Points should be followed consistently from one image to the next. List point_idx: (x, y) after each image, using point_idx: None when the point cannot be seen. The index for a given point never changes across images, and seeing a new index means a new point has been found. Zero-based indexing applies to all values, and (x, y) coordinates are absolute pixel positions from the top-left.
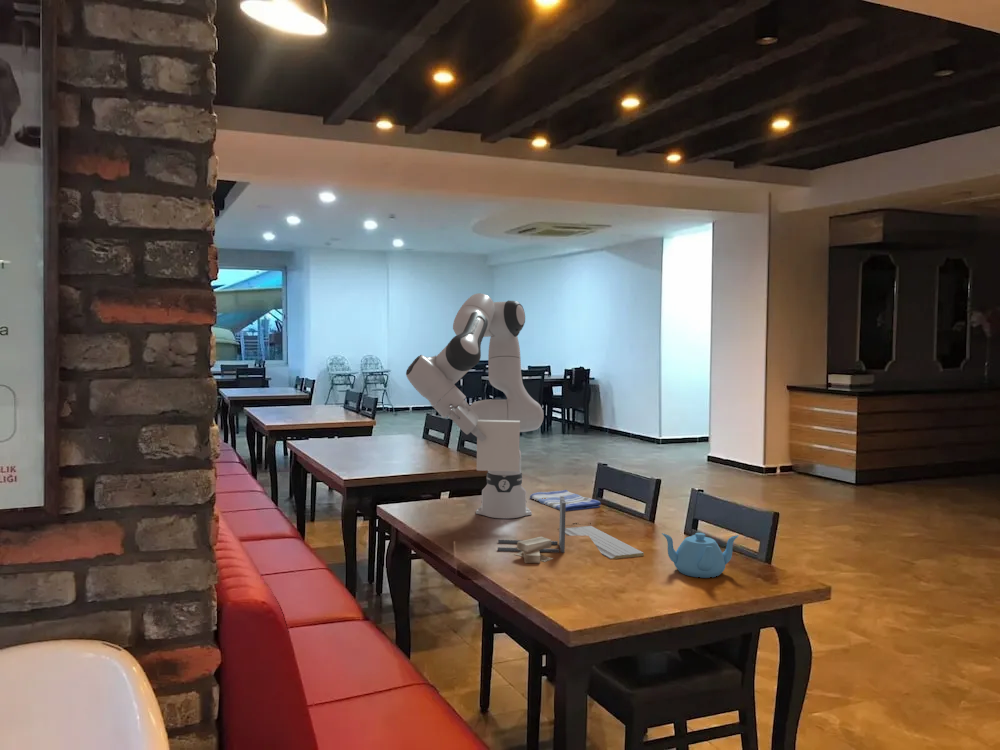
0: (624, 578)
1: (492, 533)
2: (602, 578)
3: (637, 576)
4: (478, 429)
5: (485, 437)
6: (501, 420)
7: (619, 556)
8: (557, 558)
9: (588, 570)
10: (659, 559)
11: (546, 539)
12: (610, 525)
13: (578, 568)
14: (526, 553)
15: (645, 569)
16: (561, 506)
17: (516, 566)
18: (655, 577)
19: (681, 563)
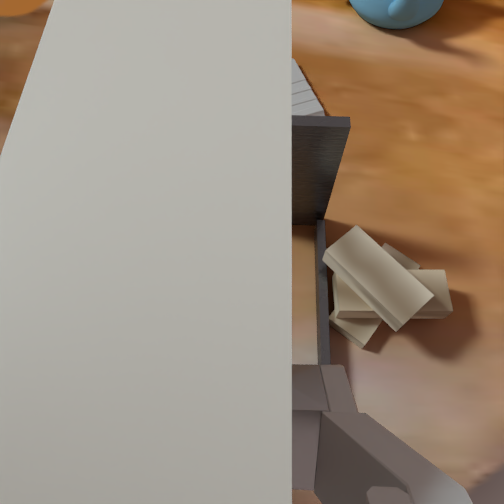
0: (465, 119)
1: None
2: (477, 157)
3: (445, 96)
4: (452, 482)
5: (342, 371)
6: (90, 33)
7: (318, 104)
8: (336, 234)
9: (424, 177)
10: (316, 44)
11: (354, 237)
12: (20, 86)
13: (413, 196)
14: (434, 306)
15: (392, 76)
16: (320, 138)
17: (430, 345)
18: (443, 69)
19: (428, 9)
